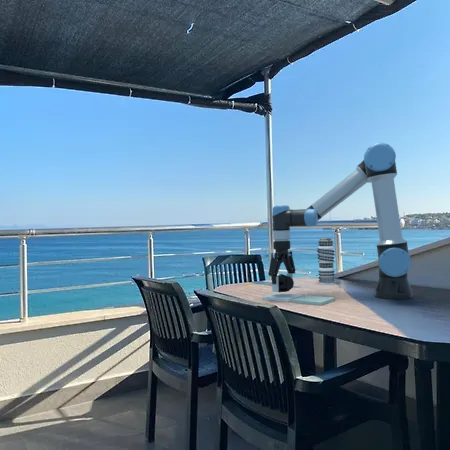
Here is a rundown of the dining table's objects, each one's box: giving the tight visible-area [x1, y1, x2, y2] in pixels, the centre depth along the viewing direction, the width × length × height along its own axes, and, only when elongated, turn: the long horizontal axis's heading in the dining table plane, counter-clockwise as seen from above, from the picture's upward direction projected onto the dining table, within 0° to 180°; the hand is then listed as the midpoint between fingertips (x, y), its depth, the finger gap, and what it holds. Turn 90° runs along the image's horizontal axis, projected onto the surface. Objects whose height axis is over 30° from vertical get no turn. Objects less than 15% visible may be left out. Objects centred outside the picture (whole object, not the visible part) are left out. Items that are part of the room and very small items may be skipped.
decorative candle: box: [316, 237, 336, 286], centre depth 230 cm, size 9×9×25 cm
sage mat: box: [291, 294, 336, 306], centre depth 177 cm, size 13×13×1 cm
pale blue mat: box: [262, 292, 304, 303], centre depth 186 cm, size 13×13×1 cm
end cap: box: [277, 273, 295, 293], centre depth 186 cm, size 10×7×7 cm
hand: (282, 289), depth 186 cm, fingers closed on end cap, 11 cm apart
